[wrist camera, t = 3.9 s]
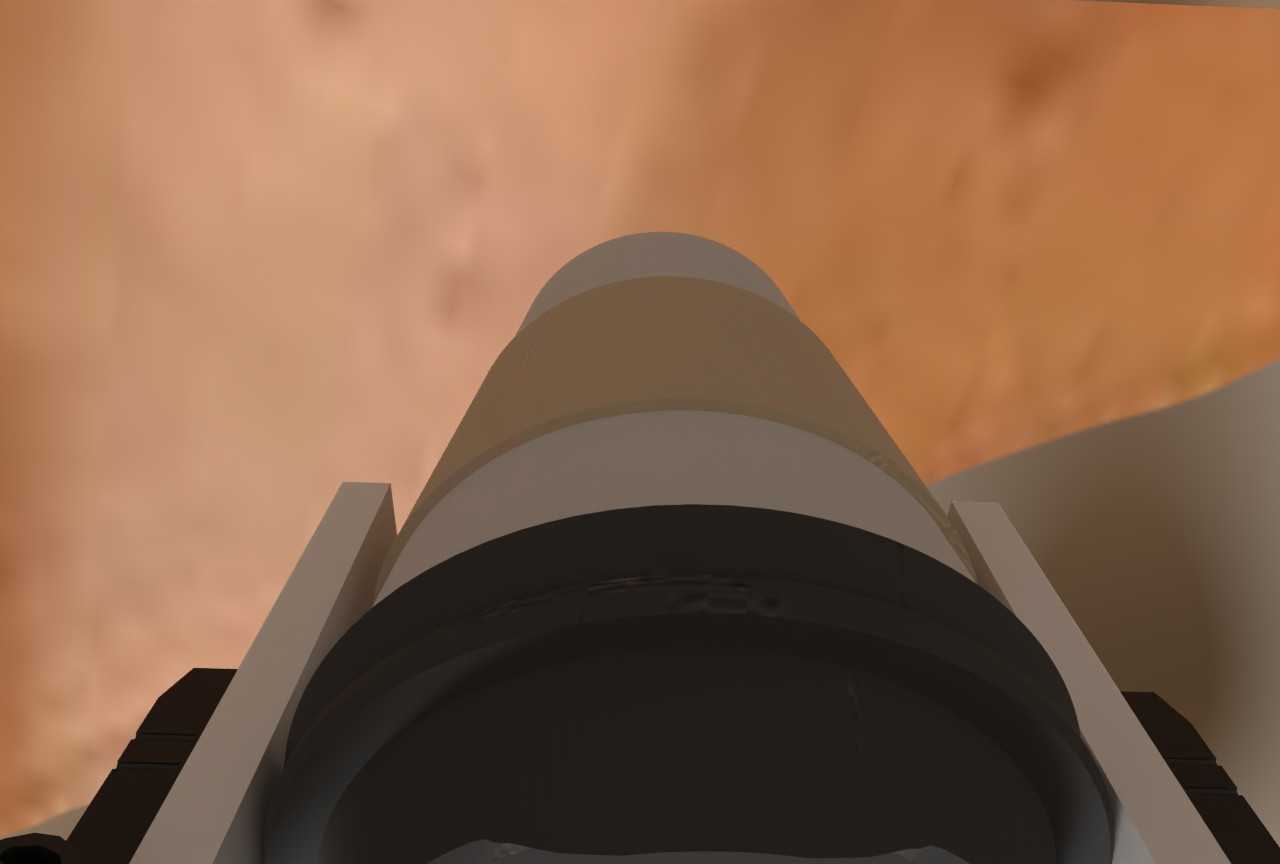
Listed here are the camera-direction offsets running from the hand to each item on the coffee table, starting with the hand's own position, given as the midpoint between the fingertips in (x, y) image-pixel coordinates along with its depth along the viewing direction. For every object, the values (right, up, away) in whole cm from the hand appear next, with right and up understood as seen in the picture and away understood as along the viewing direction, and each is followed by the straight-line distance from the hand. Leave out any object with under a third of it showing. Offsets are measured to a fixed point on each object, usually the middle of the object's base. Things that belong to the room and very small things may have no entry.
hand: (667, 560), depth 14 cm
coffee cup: (0, +4, +7) cm, 8 cm away
